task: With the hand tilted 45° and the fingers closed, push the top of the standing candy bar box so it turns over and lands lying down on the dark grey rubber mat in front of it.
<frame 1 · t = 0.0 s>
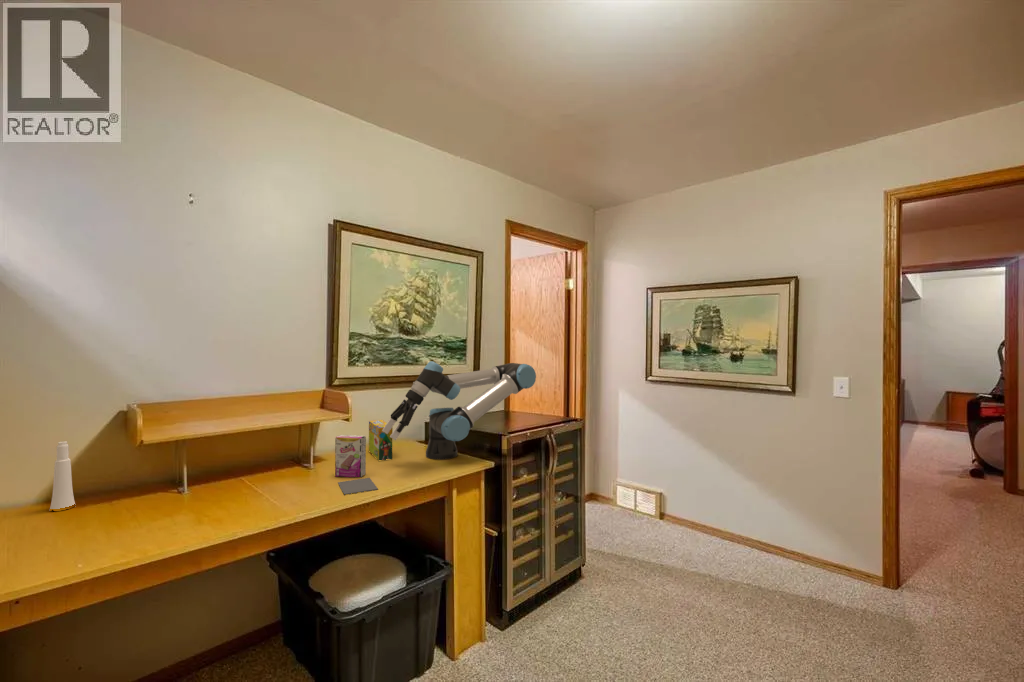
hand: (388, 435, 189), 15 cm above the table, tool tilted 35°, fingers open, 13 cm apart
candy bar box: (350, 476, 183), on the table
fingerpaint box: (380, 456, 214), on the table
mat: (357, 486, 170), on the table
cosmetic bottle: (62, 509, 147), on the table
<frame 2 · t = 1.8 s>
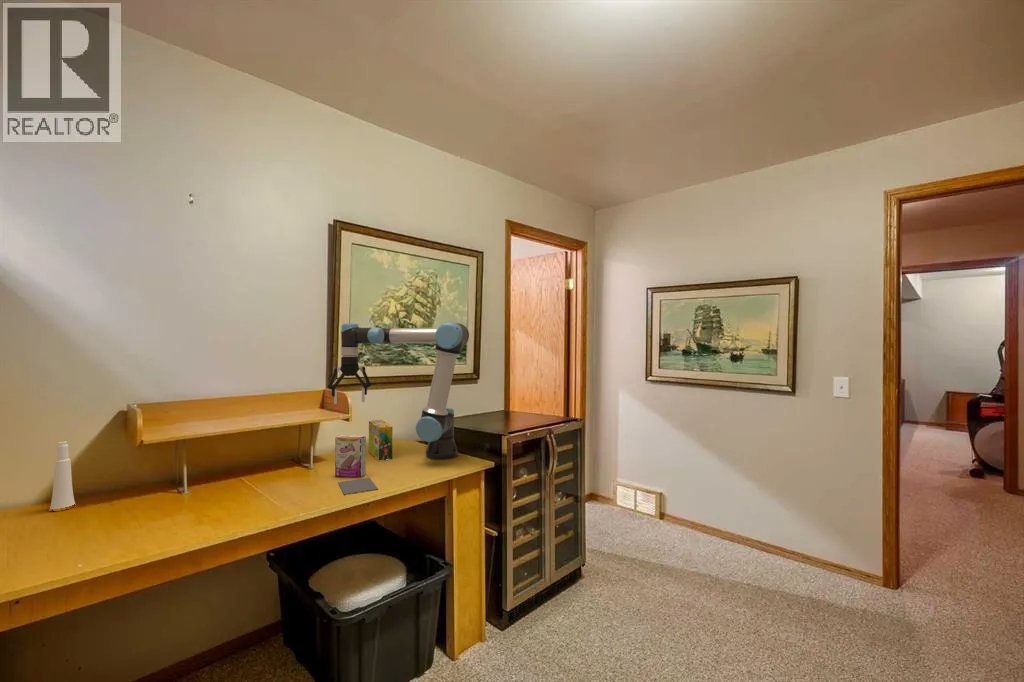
hand: (349, 402, 208), 26 cm above the table, tool pointing down, fingers open, 12 cm apart
nothing on the table moved.
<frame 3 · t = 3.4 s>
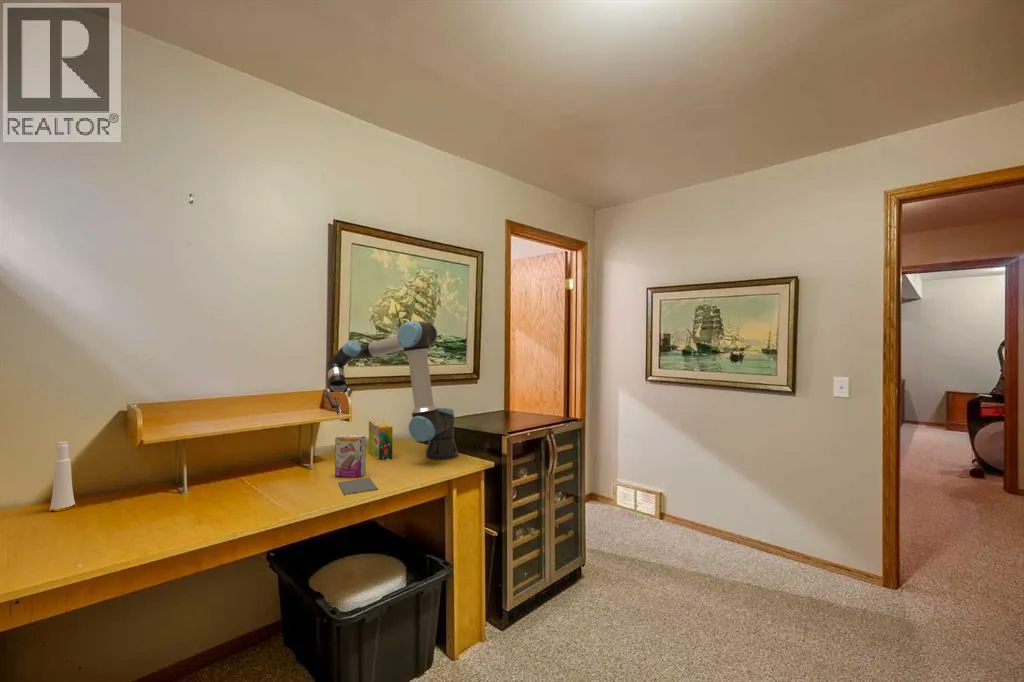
hand: (342, 419, 200), 20 cm above the table, tool tilted 45°, fingers closed
nothing on the table moved.
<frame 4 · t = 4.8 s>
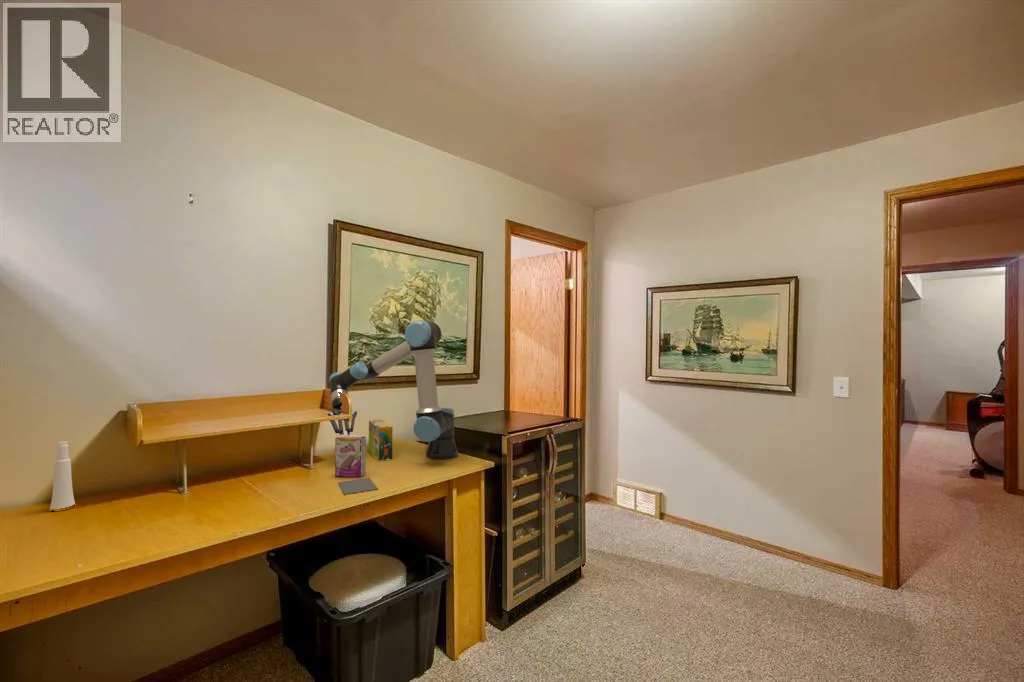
hand: (346, 445, 191), 11 cm above the table, tool tilted 45°, fingers closed
nothing on the table moved.
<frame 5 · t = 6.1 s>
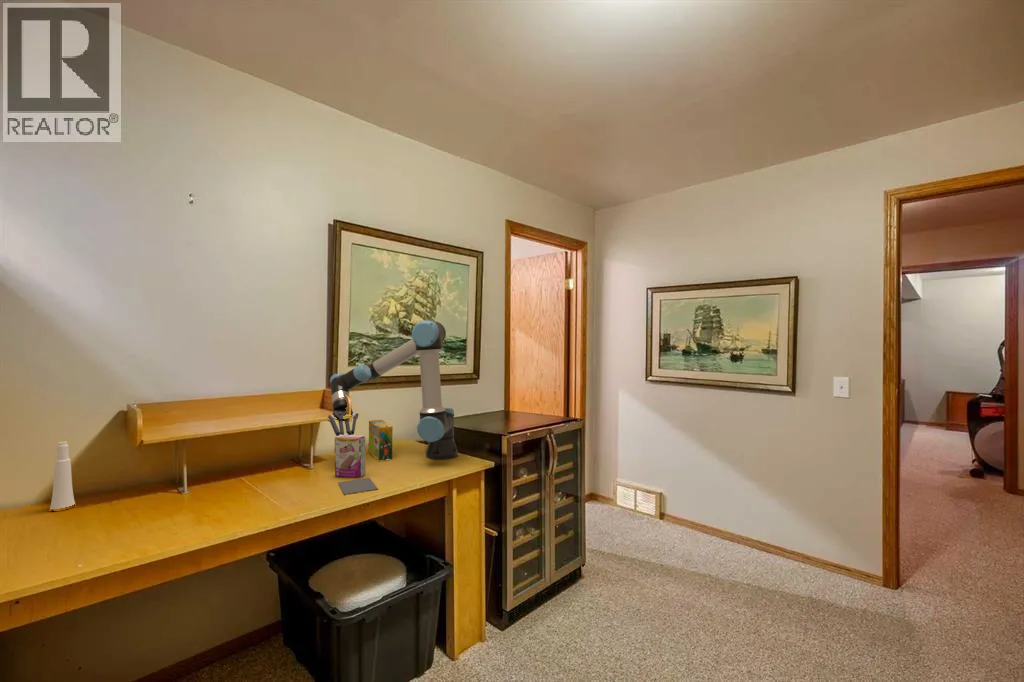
hand: (347, 448, 186), 10 cm above the table, tool tilted 45°, fingers closed
candy bar box: (350, 476, 183), on the table, touching gripper
everything else where it was.
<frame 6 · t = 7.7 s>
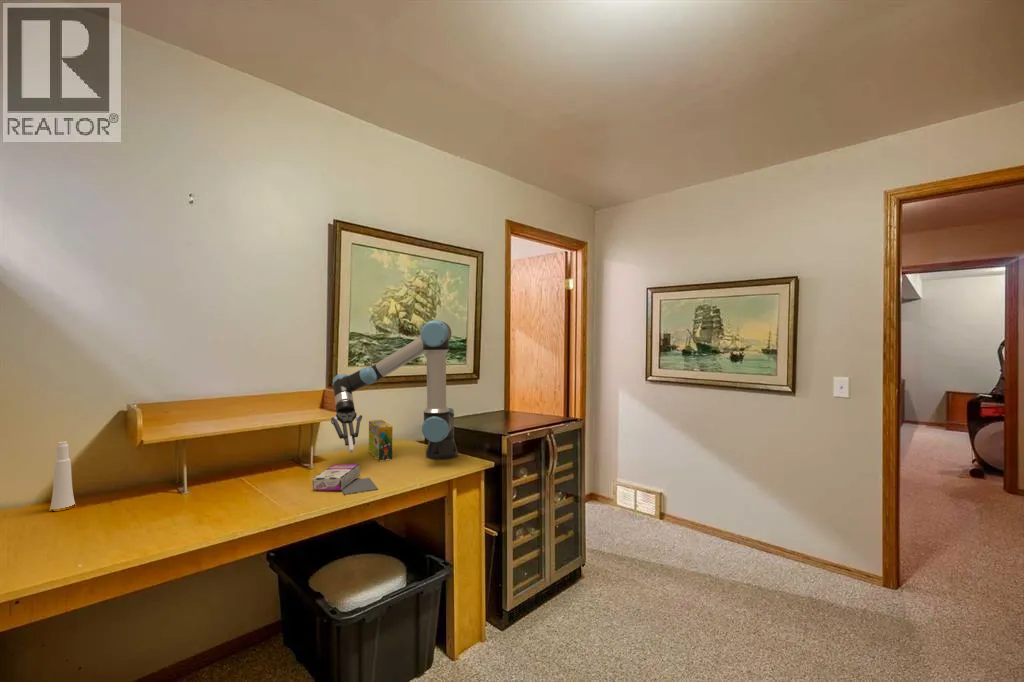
hand: (351, 451, 181), 11 cm above the table, tool tilted 45°, fingers closed
candy bar box: (347, 469, 181), point 3 cm above the table, touching mat
everything else where it was.
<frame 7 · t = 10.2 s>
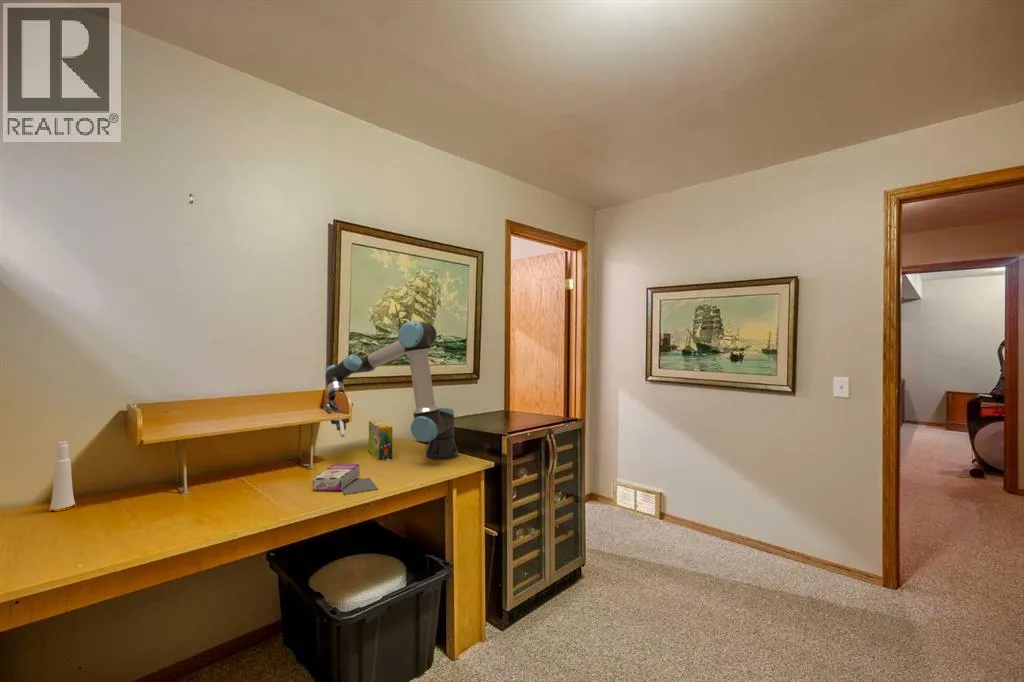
hand: (342, 435, 197), 14 cm above the table, tool tilted 45°, fingers closed
nothing on the table moved.
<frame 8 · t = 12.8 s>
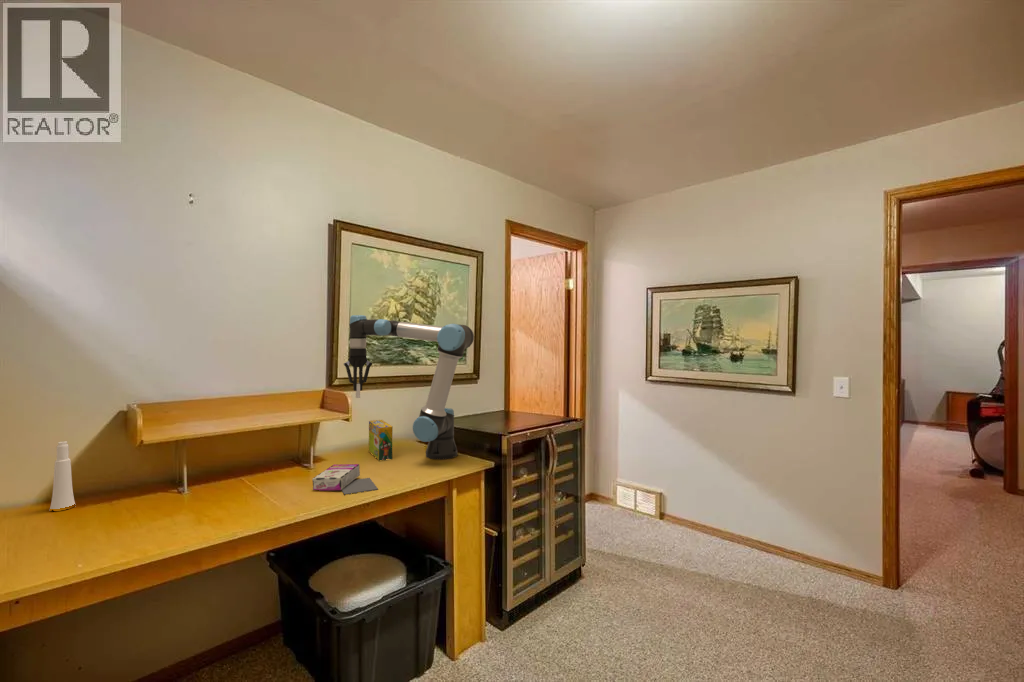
hand: (357, 397, 211), 28 cm above the table, tool pointing down, fingers closed
nothing on the table moved.
at the end: candy bar box tilted 92°; candy bar box inside the target area (13.4 cm from its centre), point 3.1 cm above the table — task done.
